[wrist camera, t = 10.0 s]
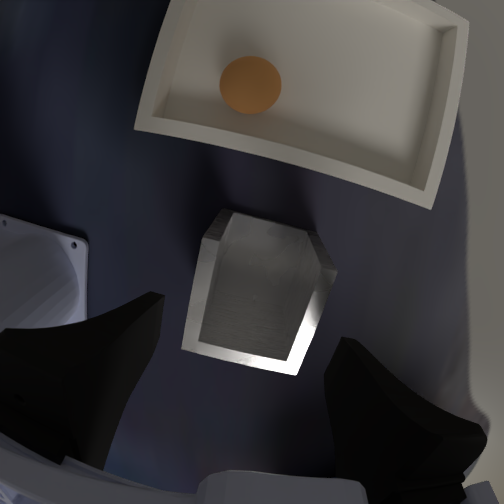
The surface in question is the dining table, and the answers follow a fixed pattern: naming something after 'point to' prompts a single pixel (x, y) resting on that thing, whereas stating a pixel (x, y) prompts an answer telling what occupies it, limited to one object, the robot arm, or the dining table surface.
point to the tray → (318, 85)
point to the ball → (250, 85)
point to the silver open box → (257, 292)
